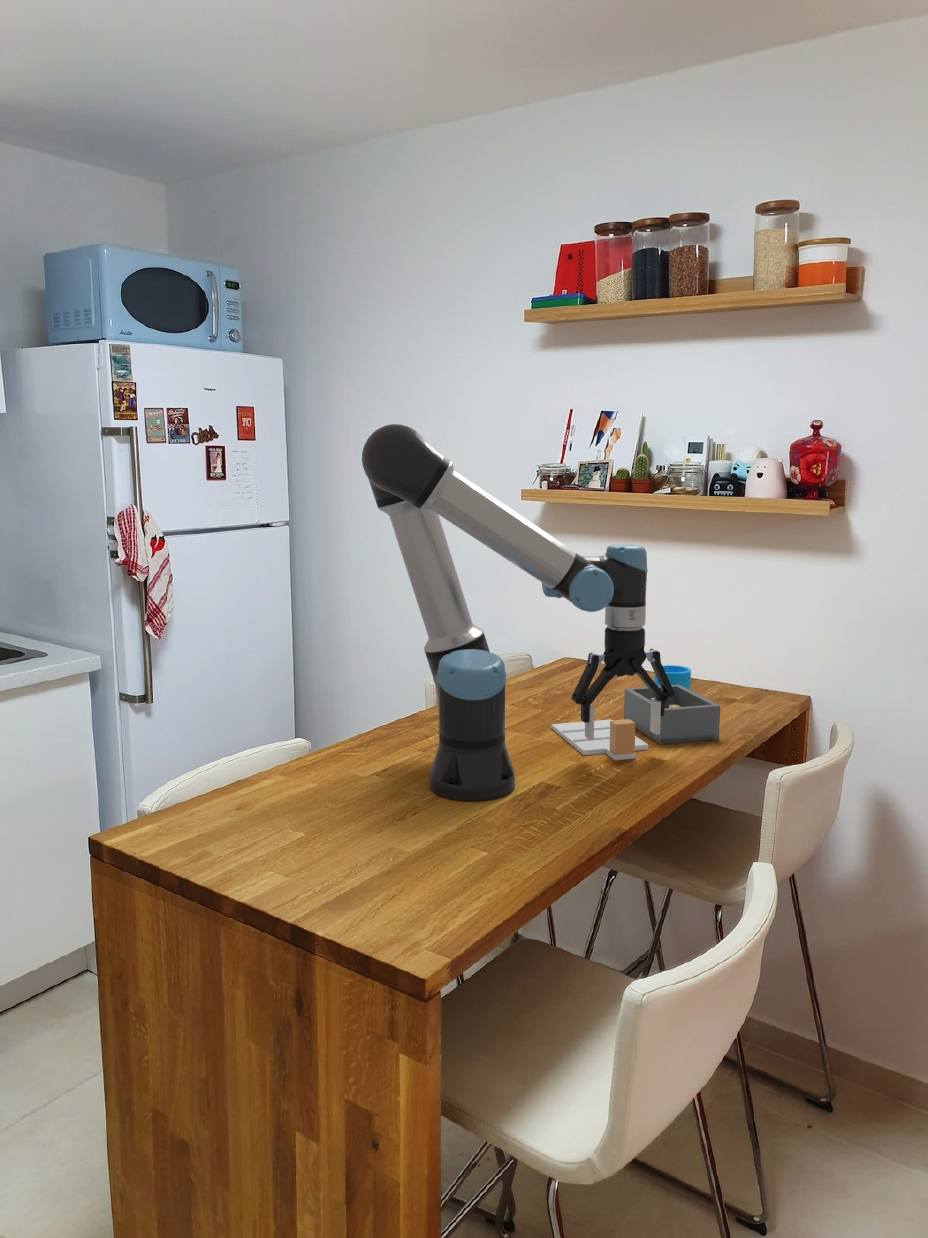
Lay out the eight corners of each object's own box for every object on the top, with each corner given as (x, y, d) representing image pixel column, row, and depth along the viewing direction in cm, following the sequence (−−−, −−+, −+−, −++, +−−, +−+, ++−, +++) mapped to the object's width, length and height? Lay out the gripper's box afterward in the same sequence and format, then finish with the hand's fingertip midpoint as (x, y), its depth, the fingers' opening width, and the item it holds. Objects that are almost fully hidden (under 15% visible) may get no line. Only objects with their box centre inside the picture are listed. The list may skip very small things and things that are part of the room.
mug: (684, 710, 217) (685, 674, 215) (649, 705, 221) (650, 671, 219) (698, 697, 227) (699, 664, 226) (664, 693, 231) (665, 660, 229)
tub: (660, 744, 192) (661, 710, 191) (623, 719, 209) (624, 688, 208) (718, 739, 195) (720, 705, 194) (678, 715, 212) (679, 684, 211)
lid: (592, 762, 181) (592, 726, 180) (551, 728, 203) (551, 697, 202) (657, 756, 185) (658, 721, 183) (610, 723, 207) (611, 692, 205)
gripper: (569, 634, 173) (568, 746, 177) (694, 627, 179) (690, 735, 183) (555, 626, 181) (554, 734, 184) (676, 620, 187) (672, 724, 190)
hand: (622, 735), depth 184 cm, fingers open, 13 cm apart
